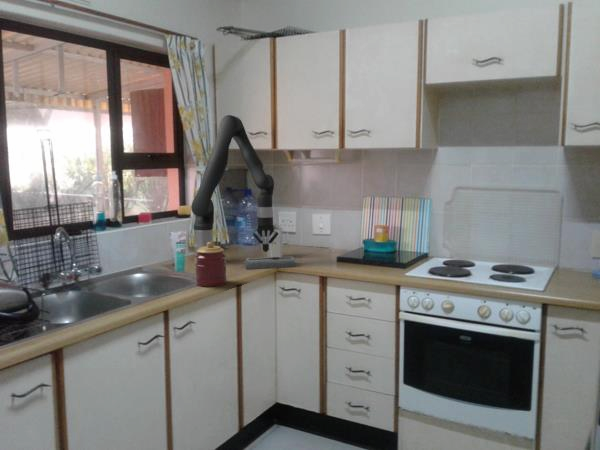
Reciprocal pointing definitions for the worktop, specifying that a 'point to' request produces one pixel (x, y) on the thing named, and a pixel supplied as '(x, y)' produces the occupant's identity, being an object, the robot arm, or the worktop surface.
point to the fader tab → (275, 250)
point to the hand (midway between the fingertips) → (265, 251)
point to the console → (269, 262)
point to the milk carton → (277, 239)
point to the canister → (210, 266)
